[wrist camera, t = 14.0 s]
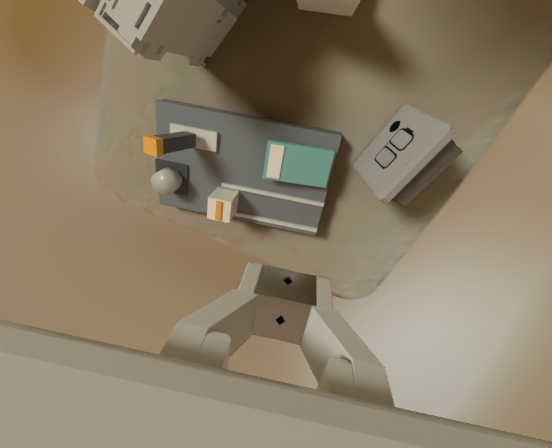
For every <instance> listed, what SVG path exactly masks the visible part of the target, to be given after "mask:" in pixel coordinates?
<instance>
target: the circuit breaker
mask: <svg viewBox="0 0 552 448" xmlns="http://www.w3.org/2000/svg"><path fill="white" fill-rule="evenodd" d="M78 1H79V2H81V3H82V4H83V5H84V6H86V7H88V8H90V9H91V10H94V11H95V14H94V16H95V17H96V18H97V19H98V20H99V21H100V22H101V23H102V24H103V25H104V26H105V27H106V28H107V29H108V30H109V31H111V32H112V33H113V34H114V35H115V36H116V37H117V38H118V39H119V40H120V41H121V42H122V43H123V44H124V45H125V46H126V47H127V48H128V49H129V50H130V51H131V52H132V53H133V54H137V53H139V54H141V55H142V56H143V57H144V58H146V59H152V60H159V61H160V60H161V59H162V57H163V55H164V54H165V52H170V53H175V54H179V55H180V56H181V57H182V58H183V59H184V60H185V61H186V62H187V63H188V64H189V65H196V66H200V64H201V65H202V66H203V67H204V66H205V65H206V63H205V62H204V60H205V58H206V57H211V56H212V55H213V53H214V52H215V50H216V49H217V47H218V46H219V45H220V43H221V42H222V40H223V39H224V38H225V36H226V35H227V33H228V32H229V30H230V29H231V28H232V26H233V25H234V23H235V22H236V21H237V19H238V18H239V16H240V15H241V13H242V12H243V11H244V9H245V8H246V6H247V3H246V2H245V1H244V0H78Z"/></svg>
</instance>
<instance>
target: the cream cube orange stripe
mask: <svg viewBox="0 0 552 448" xmlns="http://www.w3.org/2000/svg"><path fill="white" fill-rule="evenodd" d="M238 197H239V191H238V190H233V189H228V188H223V187H217V188H216V189H215V190H214V191H213V192H212V193H211V194H210V195H209V197H208V205H207V219H212V220H217V221H222V222H227V223H230V221H231V220H232V218H233V216H234V215H235V213H236V211H237V207H238Z"/></svg>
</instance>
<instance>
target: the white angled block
mask: <svg viewBox="0 0 552 448" xmlns="http://www.w3.org/2000/svg"><path fill="white" fill-rule="evenodd" d="M360 1H361V0H297V4H298V9H300V10H307V11H315V12H322V13H329V14H337V15H344V16H351V17H352V15H353V13H354V12H355V10H356V8H357V6H358V5H359V3H360Z"/></svg>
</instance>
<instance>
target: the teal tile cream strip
mask: <svg viewBox="0 0 552 448" xmlns="http://www.w3.org/2000/svg"><path fill="white" fill-rule="evenodd" d="M334 154H335V151H334V150H333V149H327V148H321V147H315V146H308V145H302V144H296V143H290V142H284V141H278V140H272V139H268V143H267V149H266V156H265V163H264V170H263V179H269V180H276V181H283V182H289V183H296V184H303V185H310V186H316V187H323V188H326V184H327V181H328V177H329V173H330V169H331V165H332V162H333V158H334Z"/></svg>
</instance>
